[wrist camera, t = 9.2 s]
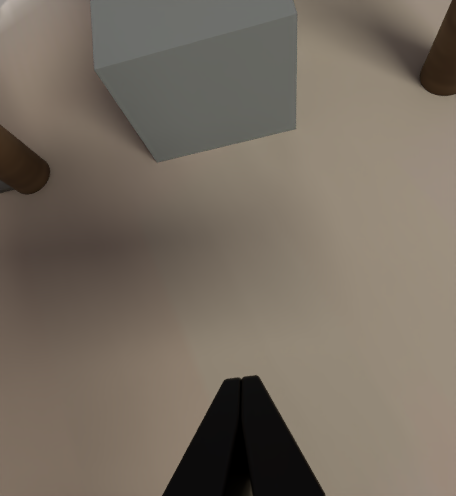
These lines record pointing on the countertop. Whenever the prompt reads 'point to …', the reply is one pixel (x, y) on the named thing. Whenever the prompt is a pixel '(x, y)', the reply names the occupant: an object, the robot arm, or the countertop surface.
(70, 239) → the countertop surface
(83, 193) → the countertop surface
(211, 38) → the gray block
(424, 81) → the brown l-shaped pieces
